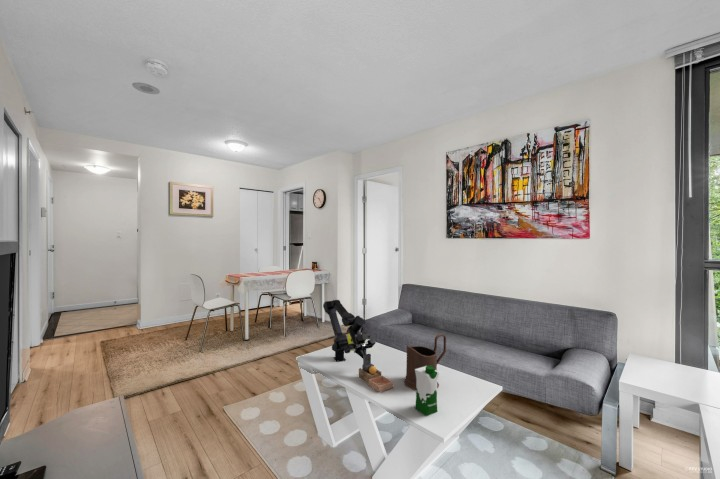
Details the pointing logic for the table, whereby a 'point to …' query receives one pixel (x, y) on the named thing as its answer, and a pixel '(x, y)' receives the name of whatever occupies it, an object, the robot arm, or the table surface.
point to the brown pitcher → (421, 361)
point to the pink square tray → (380, 383)
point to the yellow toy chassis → (350, 339)
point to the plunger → (366, 362)
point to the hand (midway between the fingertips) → (365, 360)
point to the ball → (372, 370)
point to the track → (368, 375)
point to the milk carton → (426, 390)
